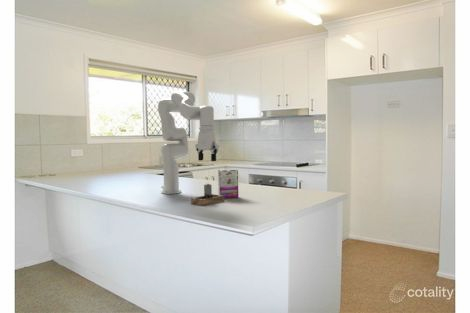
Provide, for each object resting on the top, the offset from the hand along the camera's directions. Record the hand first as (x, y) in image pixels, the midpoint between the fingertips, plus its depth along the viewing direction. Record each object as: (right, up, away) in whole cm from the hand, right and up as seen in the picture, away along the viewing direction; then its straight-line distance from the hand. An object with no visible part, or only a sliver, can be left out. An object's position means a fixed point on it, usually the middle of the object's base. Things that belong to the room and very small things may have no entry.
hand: (207, 160), depth 186 cm
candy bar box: (+11, -22, +16) cm, 29 cm away
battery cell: (0, -22, +1) cm, 22 cm away
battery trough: (0, -23, +1) cm, 23 cm away
